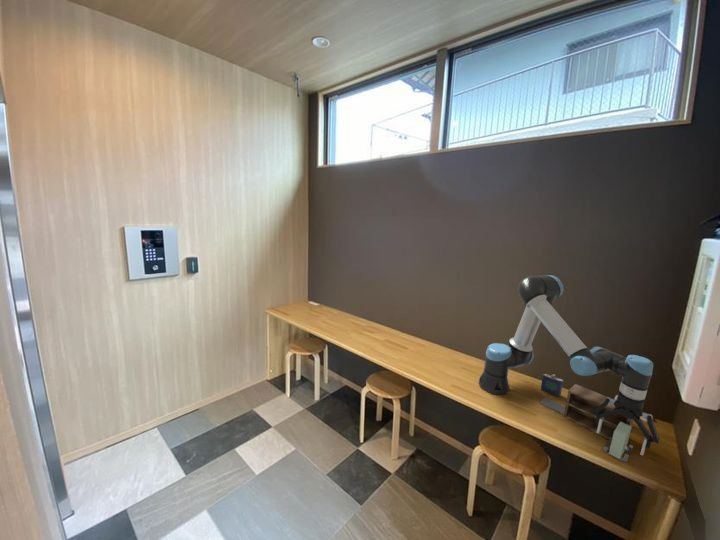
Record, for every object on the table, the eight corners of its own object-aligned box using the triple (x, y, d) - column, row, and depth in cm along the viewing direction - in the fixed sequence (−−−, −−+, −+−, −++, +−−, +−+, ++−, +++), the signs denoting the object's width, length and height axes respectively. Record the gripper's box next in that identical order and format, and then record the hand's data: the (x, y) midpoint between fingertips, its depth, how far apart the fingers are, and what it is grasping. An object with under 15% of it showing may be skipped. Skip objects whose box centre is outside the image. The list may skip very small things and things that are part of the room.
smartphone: (544, 397, 153) (579, 412, 142) (544, 398, 153) (579, 413, 142) (539, 402, 148) (574, 418, 137) (539, 404, 148) (574, 420, 137)
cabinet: (563, 416, 139) (568, 390, 136) (569, 409, 144) (575, 383, 141) (624, 446, 122) (631, 416, 119) (629, 437, 127) (636, 408, 124)
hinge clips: (603, 451, 119) (604, 446, 118) (610, 440, 125) (611, 435, 124) (626, 463, 113) (627, 457, 113) (631, 451, 119) (633, 446, 119)
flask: (560, 395, 156) (564, 376, 154) (560, 397, 154) (563, 379, 152) (540, 388, 162) (543, 370, 159) (539, 390, 159) (543, 372, 157)
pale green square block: (608, 453, 117) (614, 431, 115) (615, 442, 123) (620, 421, 122) (623, 460, 114) (629, 438, 112) (629, 449, 120) (634, 427, 118)
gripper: (589, 382, 121) (579, 427, 126) (676, 417, 102) (661, 468, 107) (594, 377, 126) (585, 420, 130) (679, 409, 107) (664, 458, 111)
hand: (619, 442), depth 118 cm, fingers open, 13 cm apart
